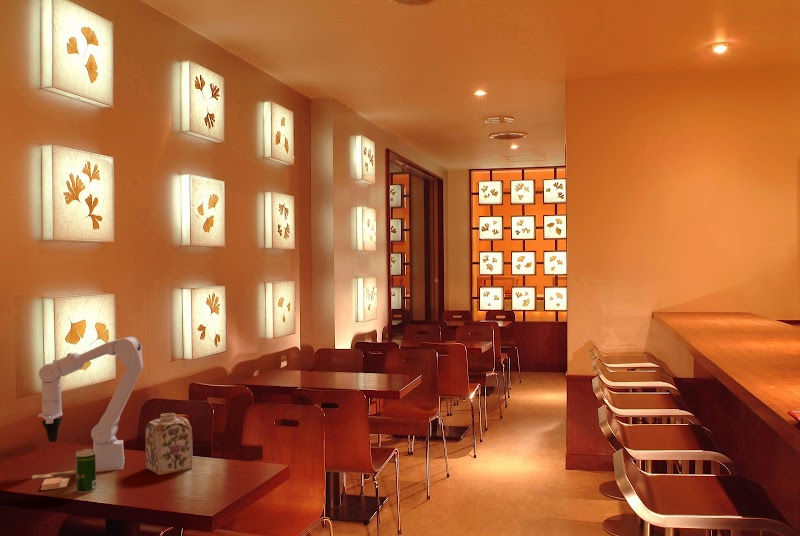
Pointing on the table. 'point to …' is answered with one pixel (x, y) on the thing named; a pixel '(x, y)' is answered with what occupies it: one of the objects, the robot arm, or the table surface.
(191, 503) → the table surface
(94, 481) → the beer can
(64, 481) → the marble board
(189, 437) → the decorative jar
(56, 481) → the tile
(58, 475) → the wooden turner
